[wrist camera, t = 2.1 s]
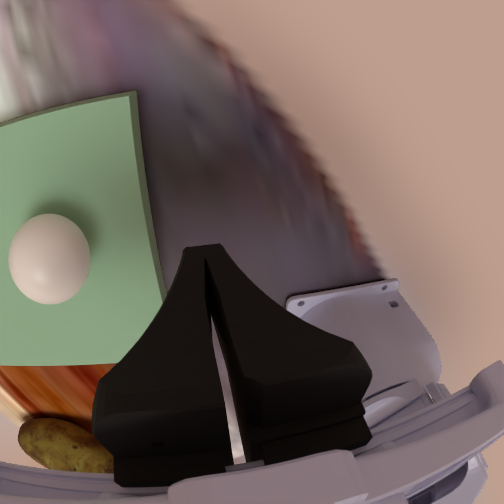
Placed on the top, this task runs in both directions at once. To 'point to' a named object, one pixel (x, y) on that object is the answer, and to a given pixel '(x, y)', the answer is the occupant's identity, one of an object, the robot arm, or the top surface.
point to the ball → (49, 259)
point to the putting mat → (91, 224)
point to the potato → (64, 446)
